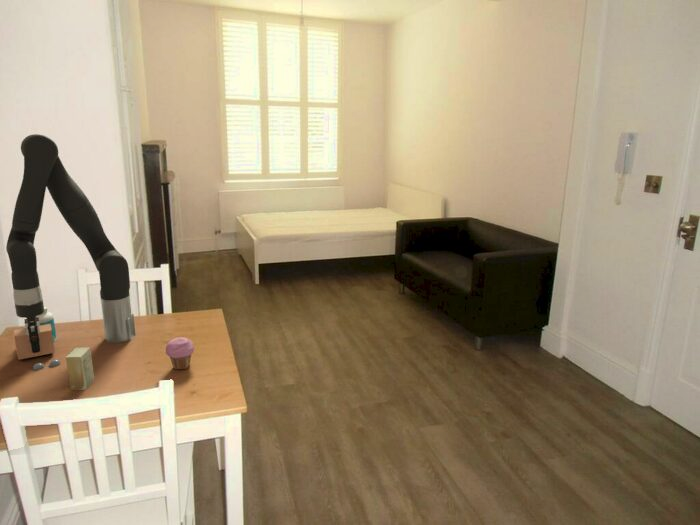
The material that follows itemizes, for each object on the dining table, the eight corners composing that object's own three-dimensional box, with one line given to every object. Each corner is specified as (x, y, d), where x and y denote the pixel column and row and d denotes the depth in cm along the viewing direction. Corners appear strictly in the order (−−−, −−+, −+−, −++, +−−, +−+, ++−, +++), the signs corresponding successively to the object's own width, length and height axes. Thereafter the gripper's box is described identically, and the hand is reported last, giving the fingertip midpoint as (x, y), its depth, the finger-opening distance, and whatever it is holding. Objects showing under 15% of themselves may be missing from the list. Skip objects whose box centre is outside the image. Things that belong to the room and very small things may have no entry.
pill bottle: (62, 340, 170) (57, 305, 167) (47, 349, 163) (41, 313, 160) (42, 338, 171) (37, 303, 167) (27, 347, 164) (21, 311, 160)
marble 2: (62, 366, 153) (61, 357, 152) (58, 370, 150) (57, 362, 149) (52, 366, 152) (51, 358, 151) (48, 371, 149) (47, 362, 148)
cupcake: (193, 372, 151) (191, 344, 148) (164, 374, 150) (162, 345, 147) (197, 359, 159) (195, 332, 157) (170, 361, 158) (168, 333, 155)
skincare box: (80, 383, 143) (75, 346, 139) (95, 383, 143) (90, 346, 140) (70, 395, 137) (64, 356, 133) (86, 394, 137) (80, 356, 134)
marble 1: (46, 369, 150) (45, 360, 149) (42, 374, 147) (41, 365, 147) (36, 369, 150) (35, 361, 149) (31, 374, 147) (30, 365, 146)
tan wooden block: (53, 345, 161) (50, 323, 158) (54, 352, 156) (51, 330, 154) (18, 352, 155) (14, 329, 153) (18, 359, 150) (14, 336, 148)
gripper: (14, 295, 154) (22, 342, 159) (14, 309, 143) (22, 359, 147) (41, 291, 158) (48, 337, 163) (43, 305, 147) (50, 354, 152)
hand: (36, 348), depth 155 cm, fingers closed on tan wooden block, 6 cm apart
